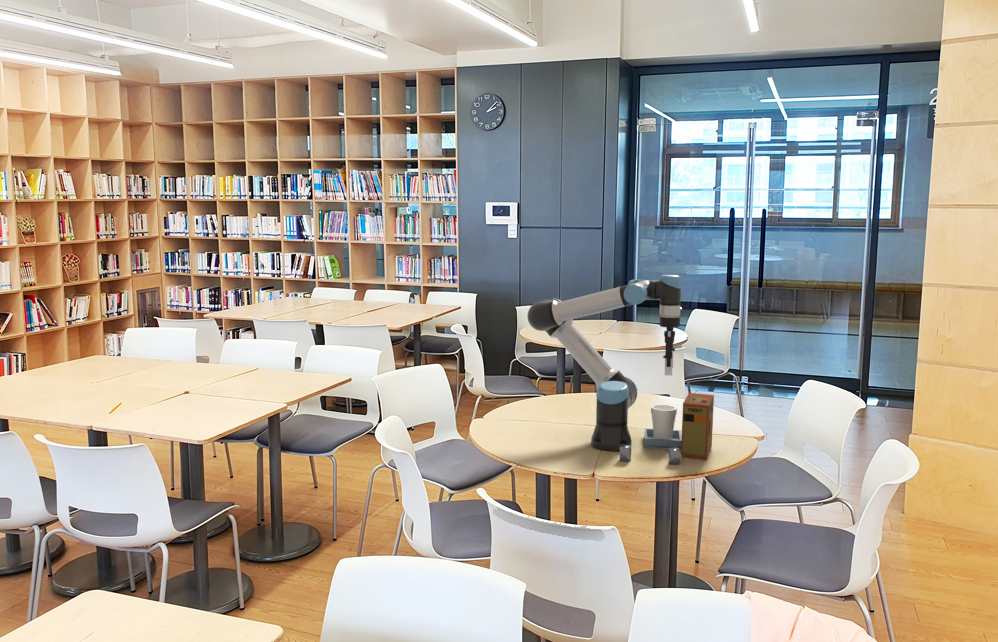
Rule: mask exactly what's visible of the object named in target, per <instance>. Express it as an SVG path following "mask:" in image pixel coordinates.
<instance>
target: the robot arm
mask: <svg viewBox="0 0 998 642" xmlns="http://www.w3.org/2000/svg"><path fill="white" fill-rule="evenodd" d="M681 295H682V282H681V277H680V275H677V274H662V275H660V278H659V279H657V280H655V279H639V278H637V279H631V280H629V281H628V284H626V285H623V286H622V285H621V286H617V287H615V288H609V289H605V290H601V291H597V292H595V293H594V292H593V293H591V294H587V295H586V294H585V295H583V296H578V297H575V298H570V299H566V300H563V301H562V300H560V299H558V298H554V297H549V298H545V299H543V300H540V301H536V302H534V303H533V304H531V306H530V307H529V309H528V312H527V321H528V323H529V325H530V327H531V328H533V329H534V330H535V331H539V332H546V334H547V335H548V336H549V337H550V338H552V339H554V338H555V339H557V340H558V342H560V344H561V346H563V347H564V348H565V350H566V351H567V352H568V353H569V354H570V355H571V356H572V357H573V358H574V360H575V361H576V362H577V364H579V366H580V367H581V368H582V369H583V370H584V371H585V372H586V373H587V374H588V376H589V377H590V378H591V379H592V381H593V382H595V384H596V387H595V388H596V392H595V393H596V395H595V396H596V407H595V409H596V411H595V412H596V413H595V415H596V418H595V419H596V420H595V421H596V422H595V423H596V424H595V427H594V429H593V432H592V435H591V438H590V445H591V446H592V447H593V448H595V449H597V450H601V451H607V452H609V451H610V452H620V446H621V445H629V446H631V447H632V436H631V434H630V430H629V427H628V419H629V418H628V416H629V414H628V412H629V409H630V408H631V407H632V406H633V405H634V404H635V403H636V400H637V398H638V387H637V384H636V383H635V382H634V381H633V380H632V379H631V378H629V377H627V376H625V375H624V374H623V373H622V372H621V371H620V370H619V369H613V368H612V366H611V365H610V364H609V363H608V362H607V360H605V359H604V357H602V355H601V354H600V353H599V352H598V350H596V348H595V347H594V346H593V345H592V344H591V343H590V342H589V340H588V339H587V338H586V337H585V336H584V335H583V333H582V332H581V331H580V330H579V329H578V328H577V327H576V326H575V324H574V323H573V321H574V320H576V319H579V318H584V317H588V316H592V315H595V314H600V313H605V312H608V311H612V310H616V309H620V308H624V307H628V306H634V305H641V304H642V303H643V302H644V301H659V316H660V317H659V326H660V327H661V328H666V330H664V332H663V336H664V343H665V351H664V352H665V354H664V355H663V356H662V358H663V359H664V376H670V377H671V376H673V369H674V352H675V351H676V349H675V348H674V343H675V336H676V331H675V330H674V328H679V327H680V326H681V317H680V315H681V311H682V310H683V308H682V307H681V297H682V296H681Z"/></svg>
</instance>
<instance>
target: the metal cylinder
mask: <svg viewBox="0 0 998 642" xmlns="http://www.w3.org/2000/svg"><path fill="white" fill-rule="evenodd" d="M618 460H619V461H620V462H622V463H630V462H632V446H629V445H621V446H620V451H619V459H618Z"/></svg>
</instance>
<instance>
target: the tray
mask: <svg viewBox="0 0 998 642" xmlns="http://www.w3.org/2000/svg"><path fill="white" fill-rule="evenodd" d="M643 436H644V440H643V441H644V449H660V450H661V449H662V450H669V448H679V449H681V441H682V430H680V429H673V435H672V440H671V439H654V433H653V428H644V435H643Z"/></svg>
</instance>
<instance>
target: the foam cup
mask: <svg viewBox="0 0 998 642" xmlns="http://www.w3.org/2000/svg"><path fill="white" fill-rule="evenodd" d="M677 410H678V408H677V407H676V406H675V405H670V404H667V403H666V404H664V403H659V404H653V405H651V407H650V414H651V420H652V421H651V422H652V429H653V433H654V439H671V440H672V435H673V430H675V422H676V417H677V412H678V411H677Z"/></svg>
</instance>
